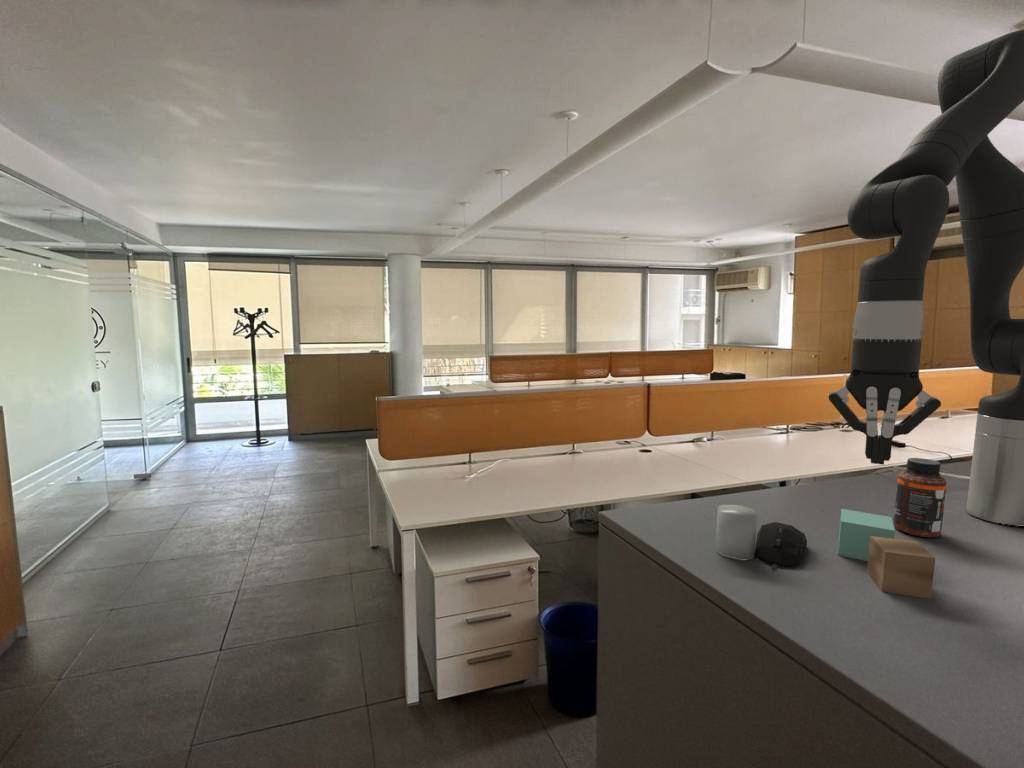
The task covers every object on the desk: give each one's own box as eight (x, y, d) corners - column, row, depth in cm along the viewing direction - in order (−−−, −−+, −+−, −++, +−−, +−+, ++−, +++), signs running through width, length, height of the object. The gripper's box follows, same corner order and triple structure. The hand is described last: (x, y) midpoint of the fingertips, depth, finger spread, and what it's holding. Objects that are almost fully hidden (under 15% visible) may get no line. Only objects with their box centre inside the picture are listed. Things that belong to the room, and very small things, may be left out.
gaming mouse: (745, 571, 69) (747, 542, 68) (760, 534, 81) (762, 509, 81) (800, 585, 65) (802, 554, 65) (807, 544, 78) (809, 517, 77)
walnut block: (866, 573, 68) (870, 536, 67) (912, 579, 66) (916, 541, 66) (881, 591, 63) (885, 551, 63) (930, 598, 62) (935, 558, 61)
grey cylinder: (719, 542, 77) (721, 502, 76) (756, 550, 74) (759, 509, 74) (711, 554, 73) (714, 512, 72) (751, 563, 70) (754, 519, 69)
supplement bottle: (949, 541, 79) (958, 467, 77) (904, 537, 80) (912, 464, 78) (927, 526, 84) (934, 457, 83) (885, 522, 86) (892, 454, 84)
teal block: (838, 541, 78) (841, 508, 78) (888, 551, 75) (891, 517, 74) (838, 556, 73) (841, 521, 73) (891, 566, 70) (894, 530, 69)
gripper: (945, 335, 70) (933, 463, 72) (829, 335, 77) (821, 451, 79) (955, 337, 64) (942, 476, 66) (828, 336, 71) (820, 462, 73)
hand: (876, 462), depth 72 cm, fingers closed
